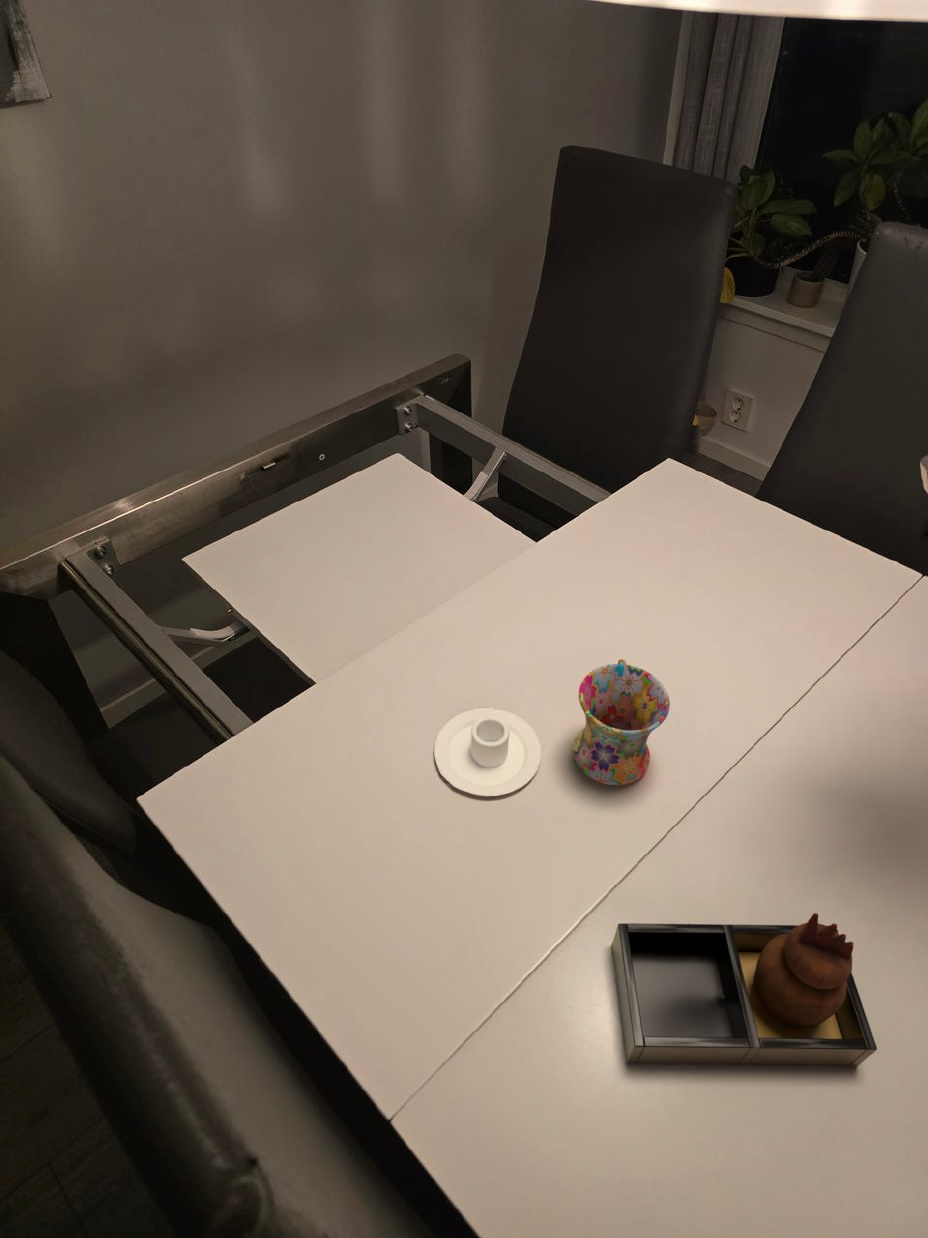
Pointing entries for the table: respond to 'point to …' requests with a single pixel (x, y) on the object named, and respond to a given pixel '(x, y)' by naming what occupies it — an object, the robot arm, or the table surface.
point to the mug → (618, 722)
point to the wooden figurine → (804, 974)
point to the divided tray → (719, 1002)
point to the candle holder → (487, 752)
